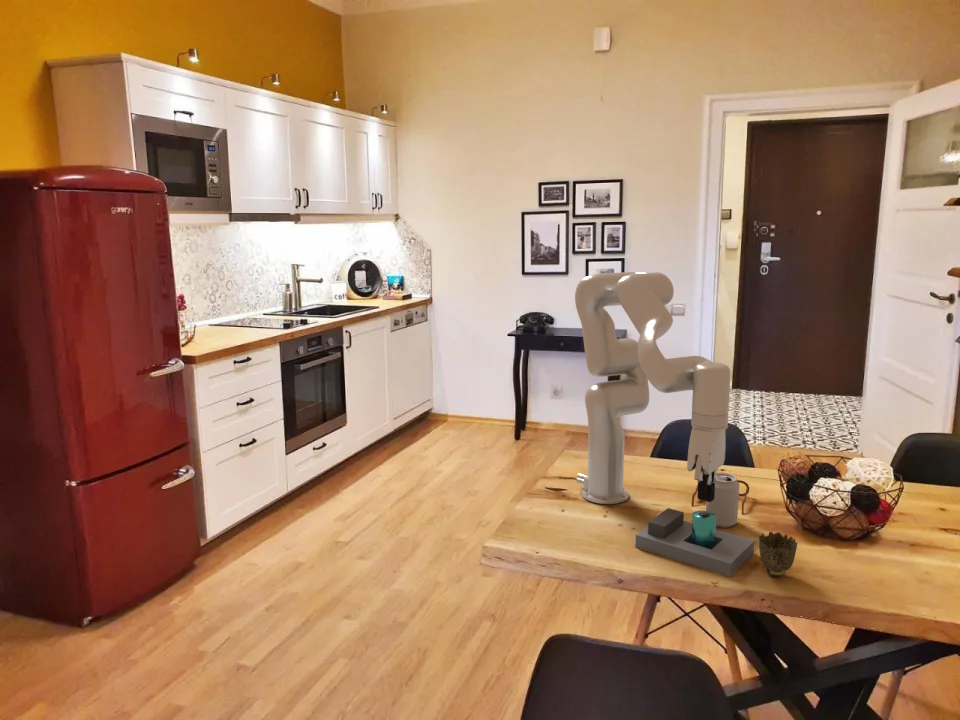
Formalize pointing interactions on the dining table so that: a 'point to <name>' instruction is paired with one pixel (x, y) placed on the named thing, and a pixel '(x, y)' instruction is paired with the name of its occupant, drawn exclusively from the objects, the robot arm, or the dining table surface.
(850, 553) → the dining table surface
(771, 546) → the cup
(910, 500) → the dining table surface
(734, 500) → the can
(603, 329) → the robot arm
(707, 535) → the teal translucent cylinder
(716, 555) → the plate
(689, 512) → the dining table surface
